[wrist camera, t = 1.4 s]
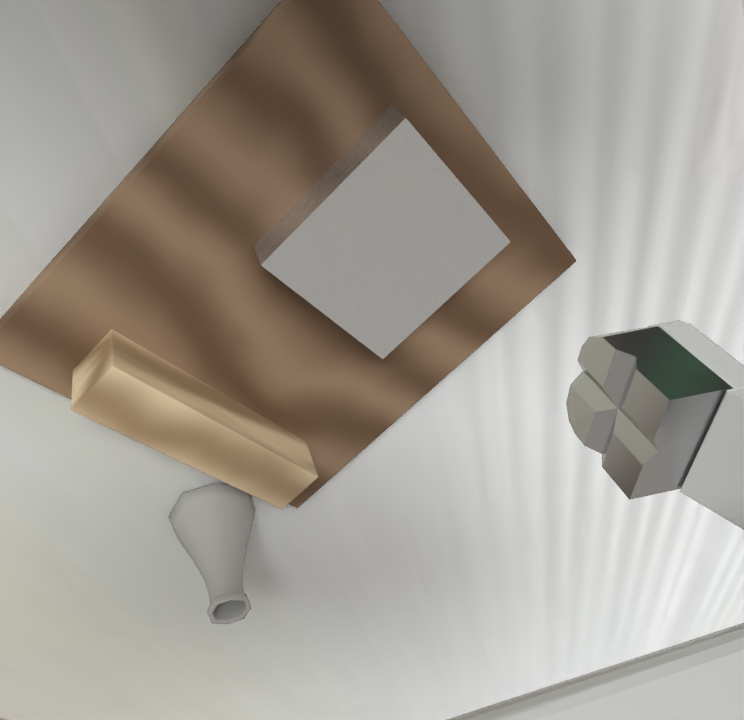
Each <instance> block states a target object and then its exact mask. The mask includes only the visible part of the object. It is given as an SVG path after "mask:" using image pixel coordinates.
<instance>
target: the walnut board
mask: <svg viewBox="0 0 744 720" xmlns="http://www.w3.org/2000/svg"><path fill="white" fill-rule="evenodd" d="M390 105H392V106H393V107H394V108H395V109H396V110H398V111H399V112H400V113H401V114H402V115H403V116H404V117H405V118H406V119H407V120H408V121H409V122H410V123H411V125H412V126H413V127H414V128H415V129H416V130H417V132H418V133H419V134H420V135H421V136H422V138H423V139H424V140H425V141H426V142H427V143H428V145H429V146H430V147H431V148H432V149H433V151H434V152H435V153H436V154H437V155H438V156H439V158H440V159H441V160H442V161H443V162H444V164H445V165H446V166H447V167H448V168H449V169H450V171H451V172H452V173H453V174H454V175H455V177H456V178H457V179H458V180H459V181H460V182H461V184H462V185H463V186H464V187H465V188H466V190H467V191H468V192H469V193H470V194H471V195H472V197H473V198H474V199H475V200H476V201H477V203H478V204H479V205H480V206H481V207H482V208H483V210H484V211H485V212H486V213H487V214H488V216H489V217H490V218H491V219H492V220H493V221H494V223H495V224H496V225H497V226H498V227H499V229H500V230H501V231H502V232H503V233H504V235H505V236H506V237H507V238H508V239H509V240H510V243H509V244H508V245H507V246H506V247H505V248H504V249H502V250H501V251H500V252H499V253H498V254H497V255H496V256H495V257H494V258H493V259H492V260H490V261H489V262H488V263H487V264H486V265H485V266H484V267H483V268H482V269H481V270H480V271H479V272H477V273H476V274H475V275H474V276H473V277H472V278H471V279H470V280H469V281H468V282H467V283H465V284H464V285H463V286H462V287H461V288H460V289H459V290H458V291H457V292H456V293H455V294H453V295H452V296H451V297H450V298H449V299H448V300H447V301H446V302H445V303H444V304H443V305H442V306H440V307H439V308H438V309H437V310H436V311H435V312H434V313H433V314H432V315H431V316H430V317H428V318H427V319H426V320H425V321H424V322H423V323H422V324H421V325H420V326H419V327H418V328H416V329H415V330H414V331H413V332H412V333H411V334H410V335H409V336H408V337H407V338H406V339H405V340H403V341H402V342H401V343H400V344H399V345H398V346H397V347H396V348H395V349H394V350H393V351H391V352H390V353H389V354H388V355H387V356H386V357H385V358H384V359H382V358H380V357H379V356H378V355H376V354H375V353H374V352H373V351H371V350H370V349H369V348H367V347H366V346H365V345H364V344H362V343H361V342H360V341H358V340H357V339H356V338H354V337H353V336H352V335H351V334H349V333H348V332H347V331H345V330H344V329H343V328H341V327H340V326H339V325H338V324H336V323H335V322H334V321H332V320H331V319H330V318H329V317H327V316H326V315H325V314H323V313H322V312H321V311H319V310H318V309H317V308H316V307H314V306H313V305H312V304H310V303H309V302H308V301H307V300H305V299H304V298H303V297H301V296H300V295H299V294H297V293H296V292H295V291H294V290H292V289H291V288H290V287H288V286H287V285H286V284H284V283H283V282H282V281H281V280H279V279H278V278H277V277H275V276H274V275H273V274H272V273H270V272H269V271H268V270H266V269H265V268H264V267H262V266H261V264H260V262H259V259H258V257H257V254H256V252H255V249H254V247H253V246H254V245H255V244H256V243H257V242H258V241H259V240H260V239H261V238H262V237H263V236H264V235H265V234H266V233H267V232H268V231H269V230H270V229H271V228H272V227H273V226H274V225H275V224H276V223H277V222H278V221H279V220H280V219H281V218H282V217H283V216H284V215H285V213H286V212H287V211H288V210H289V209H290V208H291V207H292V206H293V205H294V204H295V203H296V202H297V201H298V200H299V199H300V198H301V197H302V196H303V195H304V194H305V193H306V192H307V191H308V190H309V189H310V188H311V187H312V186H313V185H314V184H315V183H316V182H317V181H318V180H319V178H320V177H321V176H322V175H323V174H324V173H325V172H326V171H327V170H328V169H329V168H330V167H331V166H332V165H333V164H334V163H335V162H336V161H337V160H338V159H339V158H340V157H341V156H342V155H343V154H344V153H345V152H346V151H347V150H348V149H349V148H350V147H351V146H352V145H353V143H354V142H355V141H356V140H357V139H358V138H359V137H360V136H361V135H362V134H363V133H364V132H365V131H366V130H367V129H368V128H369V127H370V126H371V125H372V124H373V123H374V122H375V121H376V120H377V119H378V118H379V117H380V116H381V115H382V114H383V113H384V112H385V111H386V110H387V108H388V107H389V106H390ZM574 262H576V259H575V258H574V257H573V255H572V254H571V253H570V251H569V250H568V249H567V248H566V246H565V245H564V244H563V242H562V241H561V240H560V238H559V237H558V236H557V234H556V233H555V232H554V230H553V229H552V228H551V227H550V225H549V224H548V223H547V221H546V220H545V219H544V217H543V216H542V215H541V213H540V212H539V211H538V210H537V208H536V207H535V206H534V204H533V203H532V202H531V200H530V199H529V198H528V196H527V195H526V194H525V192H524V191H523V190H522V189H521V187H520V186H519V185H518V183H517V182H516V181H515V179H514V178H513V177H512V175H511V174H510V173H509V172H508V170H507V169H506V168H505V166H504V165H503V164H502V162H501V161H500V160H499V158H498V157H497V156H496V154H495V153H494V152H493V151H492V149H491V148H490V147H489V145H488V144H487V143H486V141H485V140H484V139H483V137H482V136H481V135H480V134H479V132H478V131H477V130H476V128H475V127H474V126H473V124H472V123H471V122H470V120H469V119H468V118H467V116H466V115H465V114H464V113H463V111H462V110H461V109H460V107H459V106H458V105H457V103H456V102H455V101H454V99H453V98H452V97H451V96H450V94H449V93H448V92H447V90H446V89H445V88H444V86H443V85H442V84H441V82H440V81H439V80H438V78H437V77H436V76H435V75H434V73H433V72H432V71H431V69H430V68H429V67H428V65H427V64H426V63H425V61H424V60H423V59H422V58H421V56H420V55H419V54H418V52H417V51H416V50H415V48H414V47H413V46H412V44H411V43H410V42H409V40H408V39H407V38H406V37H405V35H404V34H403V33H402V31H401V30H400V29H399V27H398V26H397V25H396V23H395V22H394V21H393V20H392V18H391V17H390V16H389V14H388V13H387V12H386V10H385V9H384V8H383V6H382V5H381V4H380V2H379V1H378V0H282V1H281V2H280V3H279V4H278V5H277V7H276V8H275V9H274V10H273V11H272V12H271V13H270V15H269V16H268V17H267V18H266V19H265V20H264V21H263V22H262V24H261V25H260V26H259V27H258V28H257V29H256V30H255V31H254V33H253V34H252V35H251V36H250V37H249V38H248V39H247V41H246V42H245V43H244V44H243V45H242V46H241V47H240V48H239V50H238V51H237V52H236V53H235V54H234V55H233V56H232V58H231V59H230V60H229V61H228V62H227V63H226V64H225V65H224V67H223V68H222V69H221V70H220V71H219V72H218V73H217V74H216V76H215V77H214V78H213V79H212V80H211V81H210V82H209V84H208V85H207V86H206V87H205V88H204V89H203V90H202V91H201V93H200V94H199V95H198V96H197V97H196V98H195V99H194V100H193V102H192V103H191V104H190V105H189V106H188V107H187V108H186V110H185V111H184V112H183V113H182V114H181V115H180V116H179V117H178V119H177V120H176V121H175V122H174V123H173V124H172V125H171V127H170V128H169V129H168V130H167V131H166V132H165V133H164V134H163V136H162V137H161V138H160V139H159V140H158V141H157V142H156V143H155V145H154V146H153V147H152V148H151V149H150V150H149V151H148V153H147V154H146V155H145V156H144V157H143V158H142V159H141V160H140V162H139V163H138V164H137V165H136V166H135V167H134V168H133V169H132V171H131V172H130V173H129V174H128V175H127V176H126V177H125V179H124V180H123V181H122V182H121V183H120V184H119V185H118V186H117V188H116V189H115V190H114V191H113V192H112V193H111V194H110V195H109V197H108V198H107V199H106V200H105V201H104V202H103V203H102V205H101V206H100V207H99V208H98V209H97V210H96V211H95V212H94V214H93V215H92V216H91V217H90V218H89V219H88V220H87V222H86V223H85V224H84V225H83V226H82V227H81V228H80V229H79V231H78V232H77V233H76V234H75V235H74V236H73V237H72V238H71V240H70V241H69V242H68V243H67V244H66V245H65V246H64V248H63V249H62V250H61V251H60V252H59V253H58V254H57V255H56V257H55V258H54V259H53V260H52V261H51V262H50V263H49V264H48V266H47V267H46V268H45V269H44V270H43V271H42V272H41V274H40V275H39V276H38V277H37V278H36V279H35V280H34V281H33V283H32V284H31V285H30V286H29V287H28V288H27V289H26V291H25V292H24V293H23V294H22V295H21V296H20V297H19V298H18V300H17V301H16V302H15V303H14V304H13V305H12V306H11V307H10V309H9V310H8V311H7V312H6V313H5V314H4V315H3V317H2V318H1V319H0V365H2V366H4V367H6V368H8V369H10V370H12V371H14V372H16V373H18V374H20V375H22V376H24V377H26V378H29V379H31V380H33V381H35V382H37V383H39V384H41V385H43V386H45V387H47V388H49V389H51V390H53V391H55V392H58V393H60V394H62V395H64V396H66V397H68V398H70V399H72V378H73V370H74V369H75V368H76V367H77V366H78V365H79V364H80V362H81V361H82V360H83V359H84V358H85V357H86V356H87V355H88V354H89V353H90V352H91V351H92V350H93V349H94V348H95V347H96V345H97V344H98V343H99V342H100V341H101V340H102V339H103V338H104V337H105V336H106V335H107V334H108V333H109V332H110V331H111V330H112V329H113V330H114V331H116V332H118V333H119V334H121V335H123V336H125V337H126V338H128V339H130V340H132V341H133V342H135V343H137V344H138V345H140V346H142V347H144V348H145V349H147V350H149V351H151V352H152V353H154V354H156V355H157V356H159V357H161V358H163V359H164V360H166V361H168V362H170V363H171V364H173V365H175V366H176V367H178V368H180V369H182V370H183V371H185V372H187V373H189V374H190V375H192V376H194V377H195V378H197V379H199V380H201V381H202V382H204V383H206V384H208V385H209V386H211V387H213V388H215V389H216V390H218V391H220V392H221V393H223V394H225V395H227V396H228V397H230V398H232V399H234V400H235V401H237V402H239V403H240V404H242V405H244V406H246V407H247V408H249V409H251V410H253V411H254V412H256V413H258V414H259V415H261V416H263V417H265V418H266V419H268V420H270V421H272V422H273V423H275V424H277V425H278V426H280V427H282V428H284V429H285V430H287V431H289V432H291V433H292V434H294V435H296V436H297V437H299V438H301V439H303V440H304V441H306V443H307V446H308V449H309V452H310V454H311V457H312V460H313V463H314V466H315V469H316V471H317V474H318V478H317V479H316V480H314V481H313V482H312V483H311V484H310V485H309V486H308V487H307V488H305V489H304V490H303V491H302V492H301V493H300V494H299V495H298V496H296V497H295V498H294V499H293V500H292V501H291V502H290V503H289V504H290V505H292V506H294V507H296V508H298V507H299V506H300V505H301V504H303V503H304V502H305V501H306V500H307V499H308V498H309V497H310V496H312V495H313V494H314V493H315V492H316V491H317V490H318V489H319V488H321V487H322V486H323V485H324V484H325V483H326V482H327V481H328V480H330V479H331V478H332V477H333V476H334V475H335V474H336V473H337V472H339V471H340V470H341V469H342V468H343V467H344V466H345V465H347V464H348V463H349V462H350V461H351V460H352V459H353V458H354V457H356V456H357V455H358V454H359V453H360V452H361V451H362V450H363V449H365V448H366V447H367V446H368V445H369V444H370V443H371V442H372V441H374V440H375V439H376V438H377V437H378V436H379V435H380V434H381V433H383V432H384V431H385V430H386V429H387V428H388V427H389V426H391V425H392V424H393V423H394V422H395V421H396V420H397V419H398V418H400V417H401V416H402V415H403V414H404V413H405V412H406V411H407V410H409V409H410V408H411V407H412V406H413V405H414V404H415V403H416V402H418V401H419V400H420V399H421V398H422V397H423V396H424V395H426V394H427V393H428V392H429V391H430V390H431V389H432V388H433V387H435V386H436V385H437V384H438V383H439V382H440V381H441V380H442V379H444V378H445V377H446V376H447V375H448V374H449V373H450V372H451V371H453V370H454V369H455V368H456V367H457V366H458V365H459V364H460V363H462V362H463V361H464V360H465V359H466V358H467V357H468V356H470V355H471V354H472V353H473V352H474V351H475V350H476V349H477V348H479V347H480V346H481V345H482V344H483V343H484V342H485V341H486V340H488V339H489V338H490V337H491V336H492V335H493V334H494V333H495V332H497V331H498V330H499V329H500V328H501V327H502V326H503V325H505V324H506V323H507V322H508V321H509V320H510V319H511V318H512V317H514V316H515V315H516V314H517V313H518V312H519V311H520V310H521V309H523V308H524V307H525V306H526V305H527V304H528V303H529V302H530V301H532V300H533V299H534V298H535V297H536V296H537V295H538V294H539V293H541V292H542V291H543V290H544V289H545V288H546V287H547V286H549V285H550V284H551V283H552V282H553V281H554V280H555V279H556V278H558V277H559V276H560V275H561V274H562V273H563V272H564V271H565V270H567V269H568V268H569V267H570V266H571V265H572V264H573V263H574Z"/></svg>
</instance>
